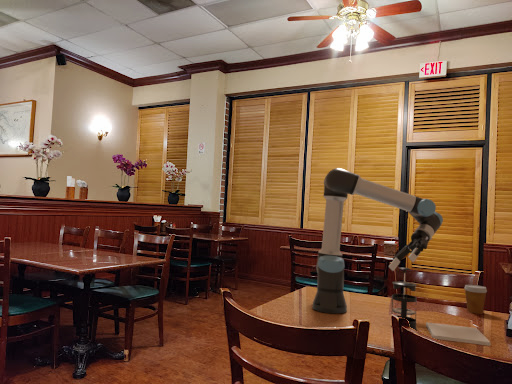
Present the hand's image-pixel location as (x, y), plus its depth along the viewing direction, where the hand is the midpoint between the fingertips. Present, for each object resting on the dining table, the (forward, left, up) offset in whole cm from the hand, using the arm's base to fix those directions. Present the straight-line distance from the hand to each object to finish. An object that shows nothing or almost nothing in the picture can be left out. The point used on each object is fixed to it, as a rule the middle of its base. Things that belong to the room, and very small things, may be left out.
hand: (400, 264), depth 166 cm
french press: (0, -15, -23) cm, 27 cm away
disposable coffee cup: (+35, +28, -23) cm, 51 cm away
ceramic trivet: (+18, -17, -23) cm, 34 cm away
